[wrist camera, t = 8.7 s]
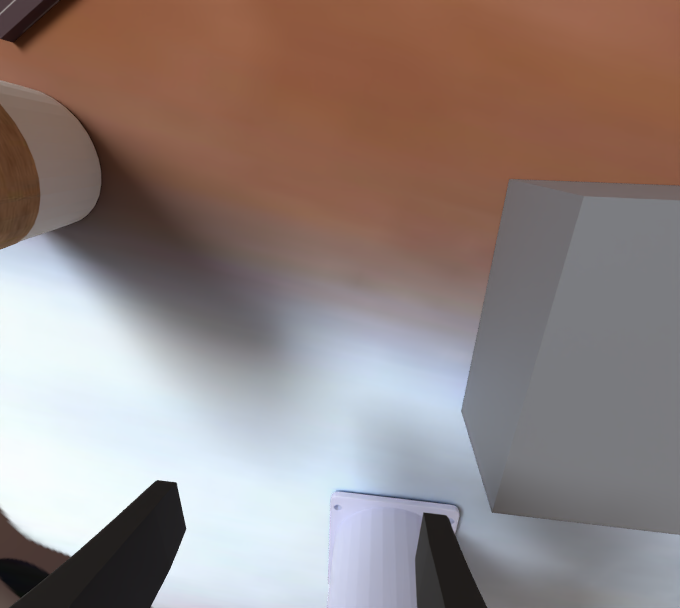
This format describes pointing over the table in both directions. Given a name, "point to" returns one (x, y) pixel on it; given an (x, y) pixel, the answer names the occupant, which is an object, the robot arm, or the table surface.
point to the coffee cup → (42, 165)
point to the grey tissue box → (581, 356)
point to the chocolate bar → (21, 16)
